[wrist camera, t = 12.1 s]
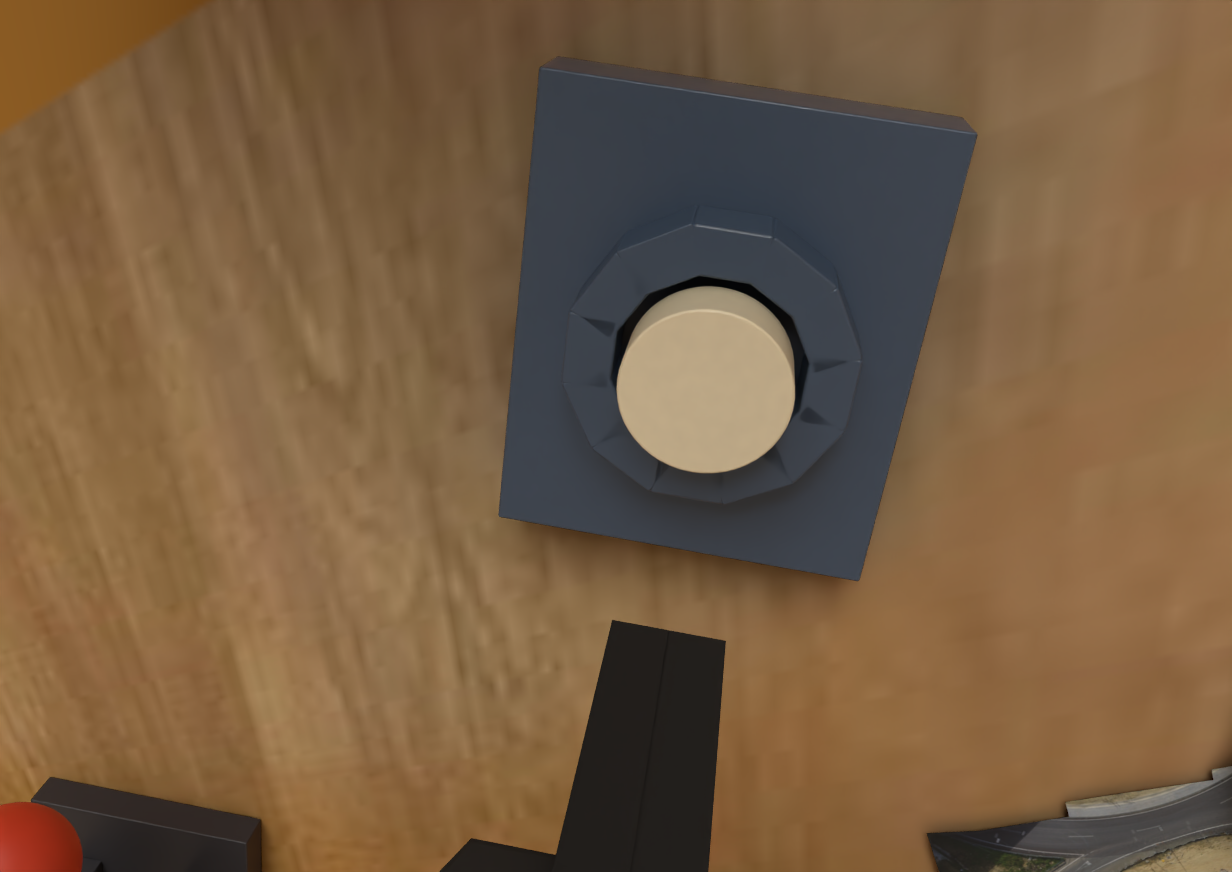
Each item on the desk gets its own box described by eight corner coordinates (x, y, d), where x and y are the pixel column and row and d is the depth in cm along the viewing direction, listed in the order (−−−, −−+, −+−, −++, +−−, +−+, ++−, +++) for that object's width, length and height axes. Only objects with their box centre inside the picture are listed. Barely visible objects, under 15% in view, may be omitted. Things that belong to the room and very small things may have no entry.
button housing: (556, 55, 27) (522, 76, 24) (964, 117, 27) (992, 148, 23) (514, 480, 32) (481, 550, 29) (854, 541, 32) (863, 620, 28)
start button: (637, 272, 26) (628, 295, 24) (809, 300, 25) (811, 326, 24) (616, 427, 27) (606, 458, 26) (776, 454, 27) (776, 488, 25)
